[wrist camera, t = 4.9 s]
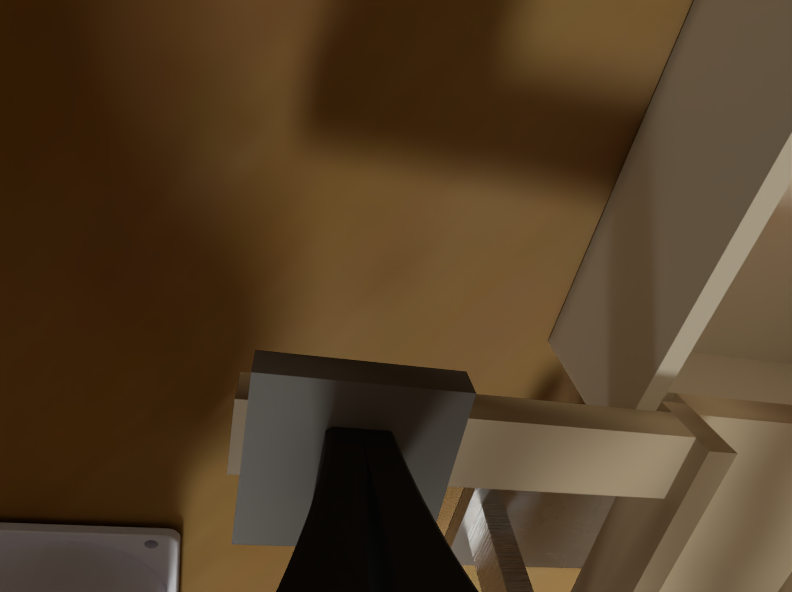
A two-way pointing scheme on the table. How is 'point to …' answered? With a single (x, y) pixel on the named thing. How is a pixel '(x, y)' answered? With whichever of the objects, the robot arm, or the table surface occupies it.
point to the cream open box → (696, 228)
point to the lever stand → (523, 533)
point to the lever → (536, 465)
